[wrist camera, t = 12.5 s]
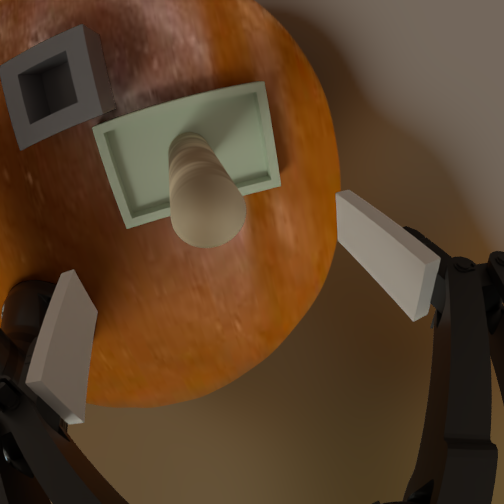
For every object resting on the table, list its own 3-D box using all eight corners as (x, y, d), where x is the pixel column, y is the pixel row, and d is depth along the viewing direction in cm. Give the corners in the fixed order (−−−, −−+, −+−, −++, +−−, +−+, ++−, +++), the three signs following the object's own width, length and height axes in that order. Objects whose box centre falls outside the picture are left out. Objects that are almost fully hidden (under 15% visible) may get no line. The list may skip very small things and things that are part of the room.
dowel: (174, 176, 33) (182, 256, 19) (163, 138, 31) (161, 190, 16) (212, 165, 34) (251, 236, 19) (204, 127, 31) (238, 169, 17)
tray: (129, 219, 35) (126, 229, 33) (97, 124, 29) (91, 127, 27) (274, 178, 37) (281, 185, 35) (257, 81, 31) (264, 81, 29)
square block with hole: (45, 137, 28) (20, 150, 22) (27, 67, 23) (-2, 66, 17) (116, 108, 29) (103, 114, 23) (99, 34, 24) (82, 23, 18)
